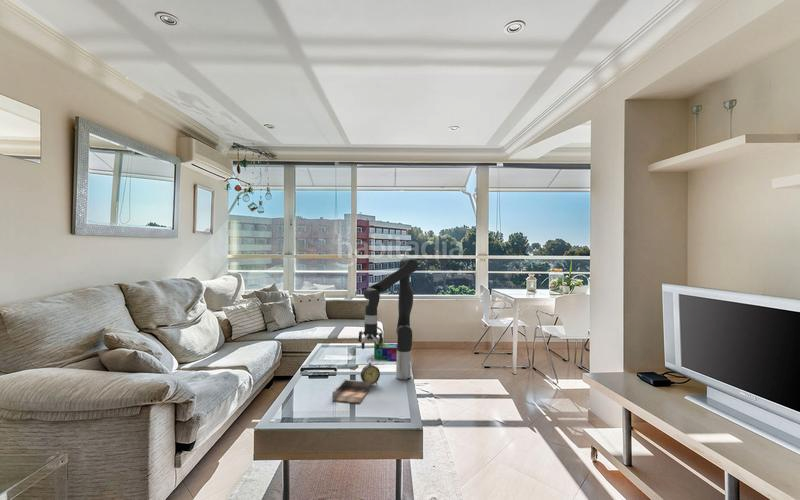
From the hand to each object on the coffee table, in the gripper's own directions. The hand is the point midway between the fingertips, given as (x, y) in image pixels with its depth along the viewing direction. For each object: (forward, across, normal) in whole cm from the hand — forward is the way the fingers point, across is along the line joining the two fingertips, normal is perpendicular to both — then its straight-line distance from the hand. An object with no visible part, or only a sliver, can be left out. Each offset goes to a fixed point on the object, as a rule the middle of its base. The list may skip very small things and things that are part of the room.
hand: (370, 349), depth 226 cm
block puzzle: (+22, 0, -58) cm, 61 cm away
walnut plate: (+21, +5, +18) cm, 28 cm away
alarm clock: (+21, 0, 0) cm, 21 cm away
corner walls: (+21, +5, +18) cm, 28 cm away
